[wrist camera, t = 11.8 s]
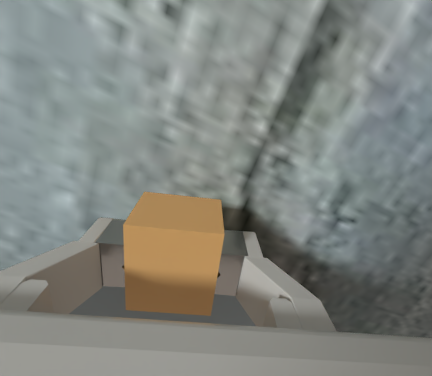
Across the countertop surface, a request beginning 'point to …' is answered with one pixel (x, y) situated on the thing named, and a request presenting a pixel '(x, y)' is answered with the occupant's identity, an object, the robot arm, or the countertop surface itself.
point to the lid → (170, 265)
